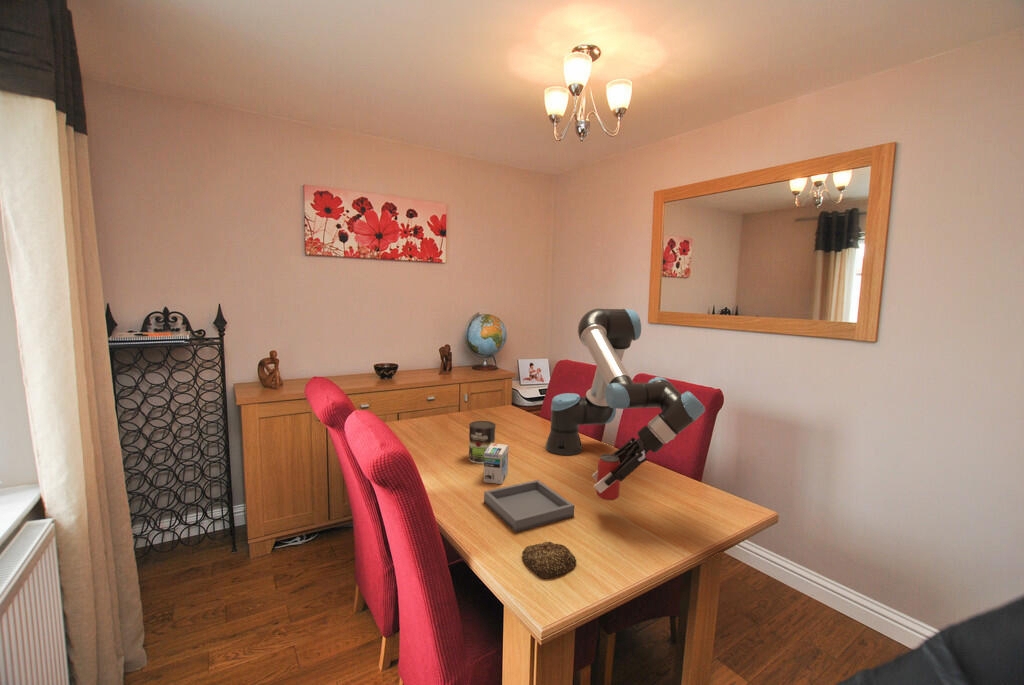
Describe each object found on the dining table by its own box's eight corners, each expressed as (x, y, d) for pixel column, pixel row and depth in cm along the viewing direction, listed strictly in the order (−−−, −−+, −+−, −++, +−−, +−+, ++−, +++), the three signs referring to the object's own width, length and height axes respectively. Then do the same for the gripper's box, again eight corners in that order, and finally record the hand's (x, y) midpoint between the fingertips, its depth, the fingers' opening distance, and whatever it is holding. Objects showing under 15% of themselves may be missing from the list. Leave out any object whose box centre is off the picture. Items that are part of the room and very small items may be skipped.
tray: (537, 489, 150) (538, 479, 150) (574, 516, 133) (574, 505, 132) (484, 502, 140) (484, 491, 140) (515, 532, 123) (516, 520, 123)
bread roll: (538, 583, 102) (538, 563, 102) (516, 554, 114) (516, 536, 113) (585, 571, 107) (586, 551, 107) (560, 544, 119) (561, 526, 118)
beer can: (593, 491, 136) (595, 453, 134) (614, 490, 136) (617, 453, 135) (599, 501, 129) (601, 461, 128) (621, 501, 130) (624, 461, 128)
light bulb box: (501, 484, 153) (502, 454, 152) (482, 482, 155) (483, 452, 153) (508, 472, 164) (509, 444, 162) (490, 470, 165) (491, 442, 164)
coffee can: (490, 465, 170) (491, 429, 168) (465, 462, 172) (465, 426, 171) (497, 455, 180) (498, 421, 178) (473, 453, 182) (474, 419, 181)
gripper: (673, 456, 120) (608, 509, 123) (657, 432, 139) (601, 479, 143) (654, 436, 120) (589, 489, 123) (640, 415, 139) (585, 462, 142)
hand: (596, 484), depth 133 cm, fingers closed on beer can, 6 cm apart
